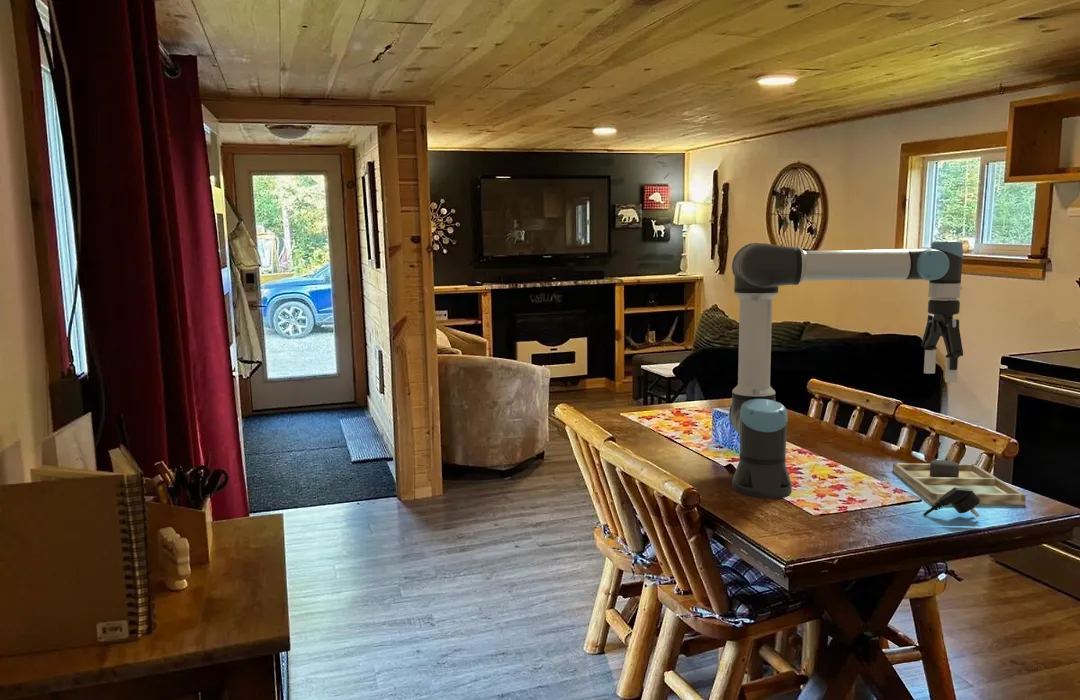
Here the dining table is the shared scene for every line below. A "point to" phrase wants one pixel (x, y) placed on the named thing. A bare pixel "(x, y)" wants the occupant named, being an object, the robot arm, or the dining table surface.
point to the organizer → (959, 484)
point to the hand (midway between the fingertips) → (939, 377)
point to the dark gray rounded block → (944, 468)
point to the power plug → (958, 501)
